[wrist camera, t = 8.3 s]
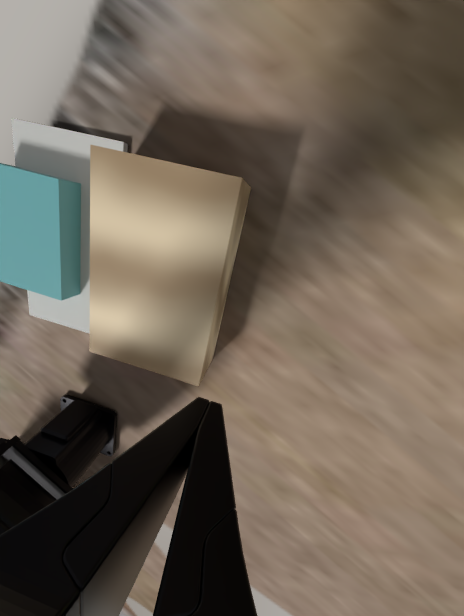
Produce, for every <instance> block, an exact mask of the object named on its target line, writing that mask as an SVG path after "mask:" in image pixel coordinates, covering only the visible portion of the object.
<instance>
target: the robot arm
mask: <svg viewBox="0 0 464 616" xmlns="http://www.w3.org/2000/svg"><path fill="white" fill-rule="evenodd" d="M60 401H61V412H60V413H59V414H57V415H56V416H55V417H54V418H53V419H51V420H50V421H49V422H48V423H47V424H46V425H44V426H43V427H42V428H41V431H39V432H38V433H37V434H36V435H35V436H34V437H32V438H31V439H30V440H29V441H28V442H27V443H25V444H23V443H22V442H21V441H20V438H19V437H17V436H14V437H13V438H12V439H10V440H9V439H8V440H7V439H3V438H0V616H119V614H120V612H121V610H122V608H123V606H124V603H125V601H126V599H127V597H128V595H129V593H130V591H131V589H132V587H133V585H134V583H135V580H136V578H137V576H138V574H139V572H140V570H141V568H142V566H143V564H144V562H145V560H146V557H147V555H148V553H149V551H150V549H151V547H152V545H153V543H154V541H155V539H156V537H157V534H158V532H159V530H160V528H161V526H162V524H163V522H164V520H165V518H166V516H167V514H168V512H169V509H170V507H171V505H172V503H173V501H174V499H175V497H176V495H177V493H178V491H179V489H180V486H181V484H182V482H183V480H184V478H185V476H186V479H185V483H184V488H183V492H182V496H181V500H180V504H179V508H178V513H177V517H176V521H175V525H174V529H173V534H172V538H171V542H170V547H169V550H168V555H167V559H166V563H165V567H164V571H163V575H162V580H161V584H160V588H159V592H158V596H157V601H156V605H155V609H154V613H153V616H257V613H256V609H255V605H254V600H253V596H252V592H251V588H250V583H249V579H248V574H247V569H246V565H245V560H244V555H243V550H242V544H241V538H240V532H239V525H238V518H237V511H236V510H235V509H236V504H235V497H234V490H233V482H232V475H231V468H230V460H229V453H228V446H227V438H226V431H225V424H224V416H223V409H222V405H221V404H219V403H216V402H213V401H211V402H209V400H207V399H204V398H201V397H198V398H196V399H195V400H194V401H192V402H191V403H190V404H188V405H187V406H186V407H184V408H183V409H182V410H180V411H179V412H178V413H176V414H175V415H174V416H172V417H171V418H170V419H168V420H167V421H166V422H164V423H163V424H161V425H160V426H159V427H157V428H156V429H155V430H153V431H152V432H151V433H149V434H148V435H147V436H145V437H144V438H143V439H141V440H140V441H139V442H137V443H136V444H135V445H133V446H132V447H131V448H129V449H128V450H127V451H125V452H124V453H123V454H121V455H120V456H119V457H117V458H116V459H115V460H113V461H112V464H111V463H109V464H108V465H106V466H105V467H104V468H102V469H101V470H100V471H98V472H97V473H96V474H94V475H93V476H91V477H90V478H89V479H87V480H86V481H84V482H83V483H82V484H80V485H79V486H77V487H76V488H74V489H73V488H72V487H73V486H74V485H75V483H76V482H77V481H78V480H79V478H80V477H81V476H82V475H83V473H84V472H85V471H86V470H87V468H88V467H89V466H90V465H91V463H92V462H93V461H94V460H95V458H96V457H97V456H98V454H99V453H102V454H105V455H108V456H112V455H113V454H114V453H115V443H116V427H117V413H116V412H115V411H113V410H110V409H107V408H104V407H101V406H98V405H96V404H93V403H90V402H87V401H84V400H81V399H78V398H75V397H72V396H69V395H64V396H62V397H61V399H60ZM186 474H187V475H186Z"/></svg>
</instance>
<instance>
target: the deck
mask: <svg viewBox="0 0 464 616" xmlns="http://www.w3.org/2000/svg"><path fill="white" fill-rule="evenodd" d="M250 191H251V187H250V186H249V185H248V184H247V183H246V182H245V181H244V179H243V178H240V177H236V176H231V175H227V174H222V173H218V172H213V171H209V170H204V169H199V168H195V167H190V166H186V165H181V164H177V163H172V162H168V161H163V160H159V159H154V158H149V157H145V156H140V155H136V154H131V153H127V152H122V151H118V150H113V149H109V148H104V147H100V146H95V145H90V336H89V351H90V352H93V353H96V354H99V355H102V356H105V357H108V358H111V359H115V360H118V361H121V362H124V363H127V364H130V365H133V366H136V367H139V368H143V369H146V370H149V371H152V372H155V373H158V374H161V375H164V376H168V377H171V378H174V379H177V380H180V381H183V382H186V383H189V384H193V385H196V386H199V385H200V383H201V381H202V379H203V377H204V375H205V373H206V371H207V369H208V367H209V365H210V363H211V362H212V360H213V356H214V352H215V347H216V343H217V339H218V334H219V330H220V325H221V321H222V316H223V312H224V307H225V303H226V298H227V294H228V289H229V285H230V280H231V276H232V271H233V267H234V262H235V258H236V254H237V249H238V245H239V240H240V236H241V231H242V227H243V222H244V218H245V213H246V209H247V204H248V200H249V195H250Z"/></svg>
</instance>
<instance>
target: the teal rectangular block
mask: <svg viewBox="0 0 464 616" xmlns="http://www.w3.org/2000/svg"><path fill="white" fill-rule="evenodd" d="M80 267H81V183H77V182H73V181H69V180H65V179H62V178H58V177H54V176H50V175H46V174H42V173H38V172H35V171H31V170H27V169H23V168H19V167H15V166H11V165H7V164H2V163H0V281H1V282H4V283H7V284H10V285H13V286H17V287H20V288H23V289H26V290H29V291H32V292H35V293H39V294H42V295H45V296H48V297H51V298H54V299H57V300H61V301H62V300H65V299H68V298H71V297H73V296H76V295H79V294H80Z"/></svg>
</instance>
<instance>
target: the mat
mask: <svg viewBox="0 0 464 616" xmlns="http://www.w3.org/2000/svg"><path fill="white" fill-rule="evenodd" d="M11 122H12V133H13V144H14V154H15V165H16V167H19V168H23V169H27V170H31V171H35V172H38V173H42V174H46V175H50V176H54V177H58V178H62V179H65V180H69V181H73V182H77V183H81V267H80V294H79V295H76V296H73V297H71V298H68V299H65V300H62V301H61V300H57V299H54V298H51V297H48V296H45V295H42V294H39V293H35V292H32V291H29V290H27V292H28V303H29V314H30V315H32V316H35V317H38V318H41V319H45V320H48V321H51V322H54V323H57V324H61V325H64V326H67V327H70V328H73V329H77V330H80V331H83V332H86V333H89V334H90V145H95V146H100V147H104V148H109V149H113V150H118V151H122V152H127V150H128V144H127V143H125V142H121V141H117V140H112V139H107V138H103V137H98V136H94V135H89V134H84V133H80V132H75V131H70V130H66V129H61V128H56V127H52V126H47V125H43V124H37V123H33V122H28V121H24V120H19V119H15V118H11Z"/></svg>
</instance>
